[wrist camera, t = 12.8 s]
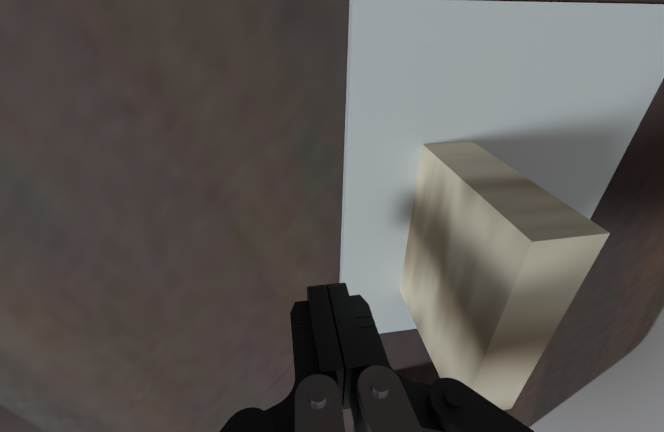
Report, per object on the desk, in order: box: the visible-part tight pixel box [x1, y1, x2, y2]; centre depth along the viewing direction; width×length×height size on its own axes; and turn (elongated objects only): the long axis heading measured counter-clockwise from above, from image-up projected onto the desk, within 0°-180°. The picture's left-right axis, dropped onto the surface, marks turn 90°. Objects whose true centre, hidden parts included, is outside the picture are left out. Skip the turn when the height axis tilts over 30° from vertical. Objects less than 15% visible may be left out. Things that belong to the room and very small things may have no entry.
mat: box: [340, 0, 664, 333], centre depth 19 cm, size 20×16×1 cm
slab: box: [400, 141, 610, 410], centre depth 16 cm, size 10×3×8 cm, turn 0°
